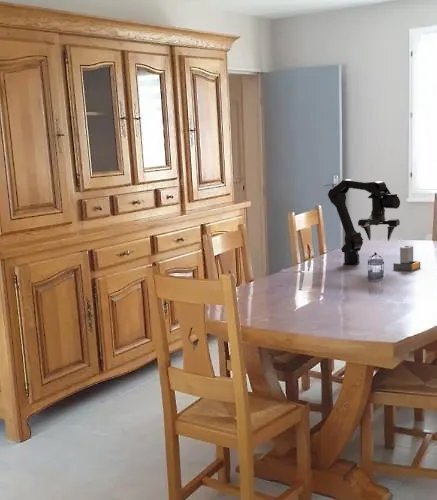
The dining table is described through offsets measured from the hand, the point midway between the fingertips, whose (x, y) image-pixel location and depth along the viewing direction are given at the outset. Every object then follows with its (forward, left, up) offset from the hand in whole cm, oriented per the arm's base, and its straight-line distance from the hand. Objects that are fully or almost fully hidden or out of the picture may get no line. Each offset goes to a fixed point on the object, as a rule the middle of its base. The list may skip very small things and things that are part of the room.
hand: (379, 240), depth 313 cm
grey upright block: (+13, -1, -12) cm, 18 cm away
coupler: (+13, -1, -13) cm, 19 cm away
